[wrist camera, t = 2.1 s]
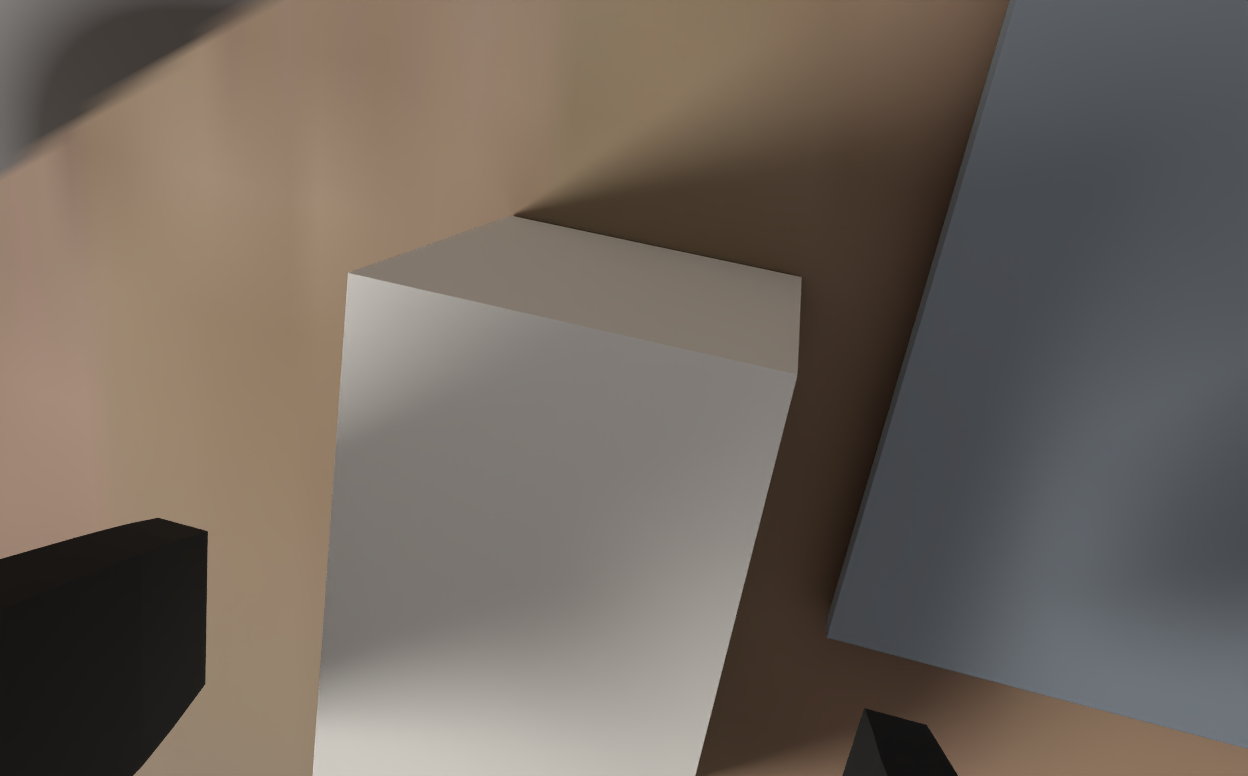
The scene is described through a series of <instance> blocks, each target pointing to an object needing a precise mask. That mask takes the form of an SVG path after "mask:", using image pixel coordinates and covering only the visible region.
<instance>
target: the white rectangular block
mask: <svg viewBox="0 0 1248 776" xmlns="http://www.w3.org/2000/svg"><path fill="white" fill-rule="evenodd" d="M801 284H802V277H798V276H794V275H789V274H784V273H780V272H775V271H770V270H765V269H761V268H756V267H751V266H746V265H742V264H737V263H732V262H728V261H723V260H718V259H713V258H709V257H704V256H699V255H694V254H690V253H685V252H680V251H676V250H671V249H666V248H661V247H657V246H652V245H647V244H642V243H638V242H633V241H628V240H624V239H619V238H614V237H609V236H605V235H600V234H595V233H590V232H586V231H581V230H576V229H572V228H567V227H562V226H557V225H553V224H548V223H543V222H539V221H534V220H529V219H524V218H520V217H515V216H508V217H505V218H502V219H499V220H497V221H494V222H491V223H488V224H485V225H482V226H480V227H477V228H474V229H471V230H468V231H465V232H463V233H460V234H457V235H454V236H451V237H448V238H446V239H443V240H440V241H437V242H434V243H431V244H429V245H426V246H423V247H420V248H417V249H414V250H412V251H409V252H406V253H403V254H400V255H397V256H395V257H392V258H389V259H386V260H383V261H380V262H378V263H375V264H372V265H369V266H366V267H363V268H361V269H358V270H355V271H352V272H349V273H348V282H347V297H346V311H345V325H344V339H343V353H342V367H341V382H340V396H339V410H338V424H337V438H336V452H335V466H334V481H333V495H332V509H331V523H330V537H329V551H328V565H327V580H326V594H325V608H324V622H323V636H322V650H321V665H320V679H319V693H318V707H317V721H316V735H315V749H314V764H313V776H695V775H696V771H697V767H698V763H699V759H700V755H701V751H702V747H703V743H704V739H705V735H706V732H707V728H708V724H709V720H710V716H711V712H712V708H713V704H714V700H715V696H716V692H717V688H718V685H719V681H720V677H721V673H722V669H723V665H724V661H725V657H726V653H727V649H728V645H729V641H730V637H731V634H732V630H733V626H734V622H735V618H736V614H737V610H738V606H739V602H740V598H741V594H742V590H743V587H744V583H745V579H746V575H747V571H748V567H749V563H750V559H751V555H752V551H753V547H754V543H755V540H756V536H757V532H758V528H759V524H760V520H761V516H762V512H763V508H764V504H765V500H766V496H767V493H768V489H769V485H770V481H771V477H772V473H773V469H774V465H775V461H776V457H777V453H778V449H779V445H780V442H781V438H782V434H783V430H784V426H785V422H786V418H787V414H788V410H789V406H790V402H791V398H792V395H793V391H794V387H795V383H796V379H797V375H798V353H799V330H800V307H801Z"/></svg>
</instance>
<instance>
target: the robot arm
mask: <svg viewBox="0 0 1248 776" xmlns="http://www.w3.org/2000/svg"><path fill="white" fill-rule="evenodd" d="M207 543H208V531H205V530H201V529H197V528H194V527H190V526H186V525H183V524H179V523H175V522H171V521H168V520H164V519H160V518H155V519H150V520H145V521H140V522H135V523H131V524H126V525H122V526H118V527H114V528H110V529H106V530H102V531H99V532H95V533H91V534H87V535H84V536H80V537H77V538H73V539H69V540H66V541H62V542H59V543H55V544H52V545H48V546H45V547H41V548H38V549H34V550H31V551H27V552H24V553H20V554H17V555H13V556H10V557H6V558H3V559H0V776H133V775H134V774H135V773H136V772H137V771H138V770H139V769H140V768H141V767H142V766H143V764H144V763H145V762H146V761H147V760H148V758H149V757H150V756H151V755H152V753H153V752H154V751H155V750H156V748H157V747H158V746H159V744H160V743H161V742H162V741H163V739H164V738H165V737H166V736H167V734H168V733H169V732H170V731H171V729H172V728H173V727H174V726H175V724H176V723H177V722H178V720H179V719H180V717H181V716H182V715H183V713H184V712H185V711H186V709H187V708H188V707H189V705H190V704H191V703H192V701H193V700H194V699H195V697H196V696H197V695H198V693H199V692H200V691H201V689H202V688H203V686H204V685H205V666H206V605H207ZM843 776H958V775H957V773H956V772H955V770H954V768H953V767H952V765H951V764H950V762H949V760H948V759H947V757H946V755H945V754H944V752H943V751H942V749H941V747H940V746H939V744H938V742H937V741H936V739H935V738H934V736H933V734H932V733H931V731H930V730H929V728H928V727H927V725H924V724H921V723H917V722H913V721H910V720H906V719H902V718H898V717H895V716H891V715H887V714H884V713H880V712H876V711H872V710H869V709H865V708H864V711H863V714H862V717H861V720H860V724H859V727H858V730H857V733H856V736H855V739H854V742H853V745H852V748H851V751H850V754H849V757H848V760H847V763H846V767H845V770H844V773H843Z"/></svg>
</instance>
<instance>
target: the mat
mask: <svg viewBox="0 0 1248 776" xmlns="http://www.w3.org/2000/svg"><path fill="white" fill-rule="evenodd" d="M826 633H827V638H830V639H834V640H837V641H841V642H845V643H849V644H853V645H856V646H860V647H864V648H868V649H872V650H875V651H879V652H883V653H887V654H891V655H894V656H898V657H902V658H906V659H909V660H913V661H917V662H921V663H925V664H928V665H932V666H936V667H940V668H944V669H947V670H951V671H955V672H959V673H963V674H966V675H970V676H974V677H978V678H981V679H985V680H989V681H993V682H997V683H1000V684H1004V685H1008V686H1012V687H1016V688H1019V689H1023V690H1027V691H1031V692H1035V693H1038V694H1042V695H1046V696H1050V697H1053V698H1057V699H1061V700H1065V701H1069V702H1072V703H1076V704H1080V705H1084V706H1088V707H1091V708H1095V709H1099V710H1103V711H1107V712H1110V713H1114V714H1118V715H1122V716H1126V717H1129V718H1133V719H1137V720H1141V721H1144V722H1148V723H1152V724H1156V725H1160V726H1163V727H1167V728H1171V729H1175V730H1179V731H1182V732H1186V733H1190V734H1194V735H1198V736H1201V737H1205V738H1209V739H1213V740H1216V741H1220V742H1224V743H1228V744H1232V745H1235V746H1239V747H1243V748H1247V749H1248V0H1010V1H1009V4H1008V8H1007V11H1006V15H1005V18H1004V21H1003V25H1002V28H1001V32H1000V35H999V38H998V42H997V45H996V48H995V52H994V55H993V59H992V62H991V65H990V69H989V72H988V76H987V79H986V82H985V86H984V89H983V92H982V96H981V99H980V103H979V106H978V109H977V113H976V116H975V120H974V123H973V126H972V130H971V133H970V136H969V140H968V143H967V147H966V150H965V153H964V157H963V160H962V164H961V167H960V170H959V174H958V177H957V180H956V184H955V187H954V191H953V194H952V197H951V201H950V204H949V208H948V211H947V214H946V218H945V221H944V224H943V228H942V231H941V235H940V238H939V241H938V245H937V248H936V252H935V255H934V258H933V262H932V265H931V269H930V272H929V275H928V279H927V282H926V285H925V289H924V292H923V296H922V299H921V302H920V306H919V309H918V313H917V316H916V319H915V323H914V326H913V329H912V333H911V336H910V340H909V343H908V346H907V350H906V353H905V357H904V360H903V363H902V367H901V370H900V373H899V377H898V380H897V384H896V387H895V390H894V394H893V397H892V401H891V404H890V407H889V411H888V414H887V417H886V421H885V424H884V428H883V431H882V434H881V438H880V441H879V445H878V448H877V451H876V455H875V458H874V462H873V465H872V468H871V472H870V475H869V478H868V482H867V485H866V489H865V492H864V495H863V499H862V502H861V506H860V509H859V512H858V516H857V519H856V522H855V526H854V529H853V533H852V536H851V539H850V543H849V546H848V550H847V553H846V556H845V560H844V563H843V566H842V570H841V573H840V577H839V580H838V583H837V587H836V590H835V594H834V597H833V600H832V604H831V607H830V610H829V614H828V617H827V621H826Z"/></svg>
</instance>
